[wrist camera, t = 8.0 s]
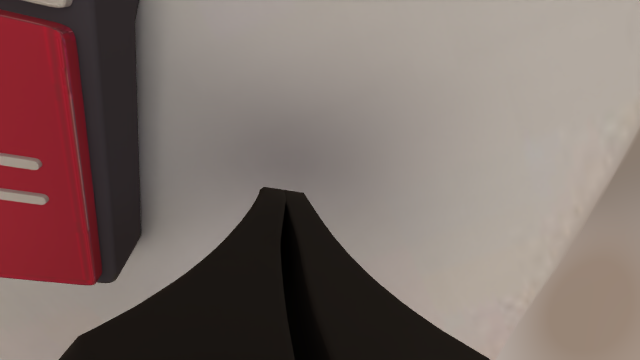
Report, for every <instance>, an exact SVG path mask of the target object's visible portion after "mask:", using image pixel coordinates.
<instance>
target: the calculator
mask: <svg viewBox="0 0 640 360" xmlns="http://www.w3.org/2000/svg"><path fill="white" fill-rule="evenodd" d="M138 2H139V0H0V277H2V278H13V279H24V280H35V281H45V282H56V283H67V284H77V285H94V284H95V283H96V282H98V283H111V282H113V281H115V280H116V279H117V277H118V275H119V274H120V272H121V270H122V268H123V267H124V265H125V263H126V261H127V260H128V258H129V256H130V254H131V253H132V251H133V249H134V247H135V246H136V244H137V242H138V240H139V238H140V236H141V220H140V186H139V151H138V117H137V83H136V48H135V18H136V13H137V7H138Z"/></svg>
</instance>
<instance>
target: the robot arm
mask: <svg viewBox="0 0 640 360" xmlns="http://www.w3.org/2000/svg"><path fill="white" fill-rule="evenodd" d="M59 360H490V359H489V358H487V357H485V356H484V355H482V354H480V353H479V352H477V351H475V350H474V349H472V348H470V347H469V346H467V345H465V344H464V343H462V342H460V341H459V340H457V339H455V338H454V337H452V336H450V335H449V334H447V333H445V332H444V331H442V330H441V329H439V328H437V327H436V326H435V325H433V324H432V323H430V322H429V321H427V320H426V319H424V318H423V317H422V316H420V315H419V314H417V313H416V312H414V311H413V310H412V309H410V308H409V307H408V306H406V305H405V304H404V303H402V302H401V301H400V300H398V299H397V298H396V297H395V296H394V295H392V294H391V293H390V292H389V291H387V290H386V289H385V288H384V287H383V286H381V285H380V284H379V283H378V282H377V281H376V280H375V279H373V278H372V277H371V276H370V275H369V274H368V273H367V272H366V271H365V270H364V269H363V268H362V267H361V266H360V265H359V264H358V263H357V262H356V261H355V260H354V259H353V258H352V257H351V256H350V255H349V254H348V253H347V252H346V250H345V249H344V248H343V247H342V246H341V245H340V243H339V242H338V241H337V240H336V239H335V237H334V236H333V235H332V234H331V232H330V231H329V230H328V228H327V227H326V226H325V224H324V223H323V221H322V220H321V219H320V217H319V216H318V214H317V213H316V211H315V210H314V208H313V207H312V205H311V203H310V202H309V200H308V199H307V197H306V196H305V194H304V193H300V192H294V191H287V190H281V189H274V188H268V187H263V188H262V189H260V192H259V195H258V197H257V199H256V201H255V202H254V204H253V205H252V207H251V209H250V210H249V211H248V213H247V214H246V215H245V217H244V218H243V219H242V221H241V222H240V223H239V224H238V225H237V227H236V228H235V229H234V230H233V231H232V232H231V233H230V234H229V236H228V237H227V238H226V239H225V240H224V241H223V242H222V243H221V244H220V245H219V246H218V247H217V248H216V249H214V250H213V251H212V252H211V253H210V254H209V255H208V256H207V257H206V258H204V259H203V260H202V261H201V262H199V263H198V264H197V265H196V266H194V267H193V268H192V269H191V270H189V271H188V272H187V273H185V274H184V275H183V276H181V277H180V278H179V279H177V280H176V281H174V282H173V283H171V284H170V285H168V286H167V287H165V288H164V289H162V290H161V291H159V292H157V293H156V294H154V295H153V296H151V297H150V298H148V299H147V300H145V301H144V302H142V303H140V304H139V305H137V306H135V307H133V308H132V309H130V310H128V311H126V312H124V313H122V314H121V315H119V316H117V317H115V318H113V319H111V320H109V321H107V322H105V323H104V324H102V325H100V326H98V327H96V328H94V329H92V330H90V331H88V332H86V333H84V334H82V335H80V336H78V337H77V339H76V340H75V341H74V342H73V343H72V344H71V346H70V347H69V348H68V349H67V350H66V352H65V353H64V354H63V355H62V356H61V358H60V359H59Z"/></svg>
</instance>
